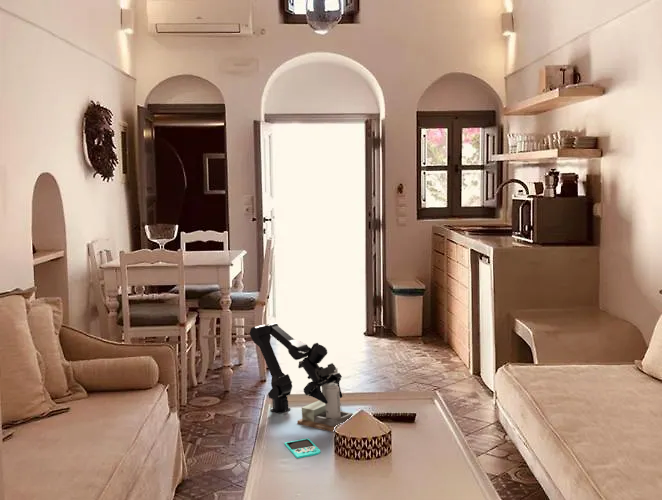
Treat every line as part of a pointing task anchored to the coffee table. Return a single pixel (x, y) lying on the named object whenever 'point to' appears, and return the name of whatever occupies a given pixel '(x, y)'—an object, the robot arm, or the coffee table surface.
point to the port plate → (320, 417)
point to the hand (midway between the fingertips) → (334, 400)
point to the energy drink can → (332, 401)
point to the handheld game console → (302, 448)
